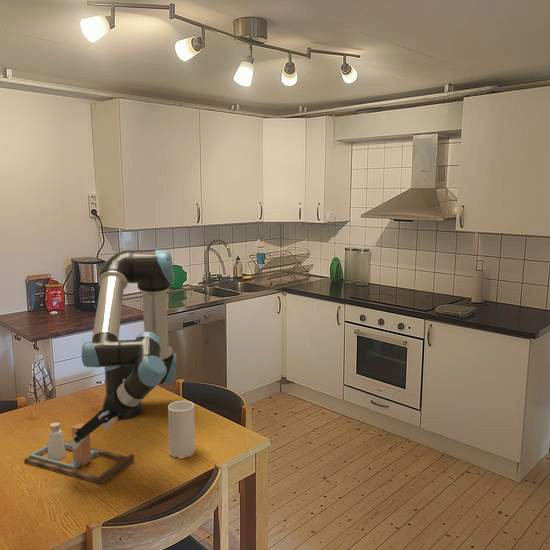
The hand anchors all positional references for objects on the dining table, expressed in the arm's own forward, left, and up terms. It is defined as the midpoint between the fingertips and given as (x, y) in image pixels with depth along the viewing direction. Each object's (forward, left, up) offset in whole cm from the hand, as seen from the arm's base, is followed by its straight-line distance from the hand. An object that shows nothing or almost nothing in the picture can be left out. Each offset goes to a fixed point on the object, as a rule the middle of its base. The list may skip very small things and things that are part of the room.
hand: (88, 435), depth 155 cm
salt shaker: (+13, -6, -10) cm, 17 cm away
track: (+4, -2, -10) cm, 11 cm away
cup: (-27, -8, -10) cm, 30 cm away
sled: (+10, -4, -9) cm, 14 cm away
